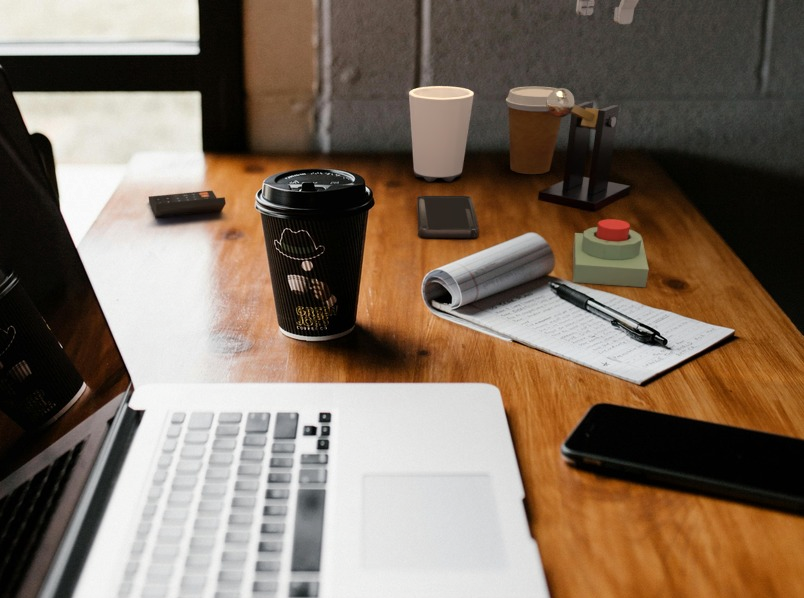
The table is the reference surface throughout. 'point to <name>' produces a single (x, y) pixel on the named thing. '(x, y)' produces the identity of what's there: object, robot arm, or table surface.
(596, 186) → the switch bracket
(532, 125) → the disposable coffee cup
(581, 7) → the robot arm
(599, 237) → the button
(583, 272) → the button block
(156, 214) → the calculator
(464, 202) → the phone
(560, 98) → the switch lever
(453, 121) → the cup
